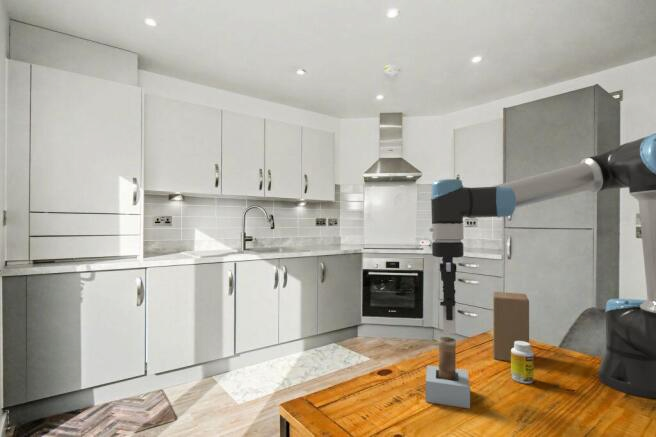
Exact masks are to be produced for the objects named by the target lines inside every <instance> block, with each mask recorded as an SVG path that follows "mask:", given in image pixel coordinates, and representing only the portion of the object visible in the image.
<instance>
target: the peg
mask: <svg viewBox="0 0 656 437" xmlns="http://www.w3.org/2000/svg"><path fill="white" fill-rule="evenodd" d="M456 340H457V339H455V338H454V337H450V336H441V337H439V338H438V367H439V379H444V380H452V381H455V377H456V369H457V367H456V366H457V365H456V362H457V361H456V360H457V359H456V357H457V356H456V354H457V353H456V350H457V349H456V346H457V345H456V344H457V343H456V342H457V341H456Z"/></svg>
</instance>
